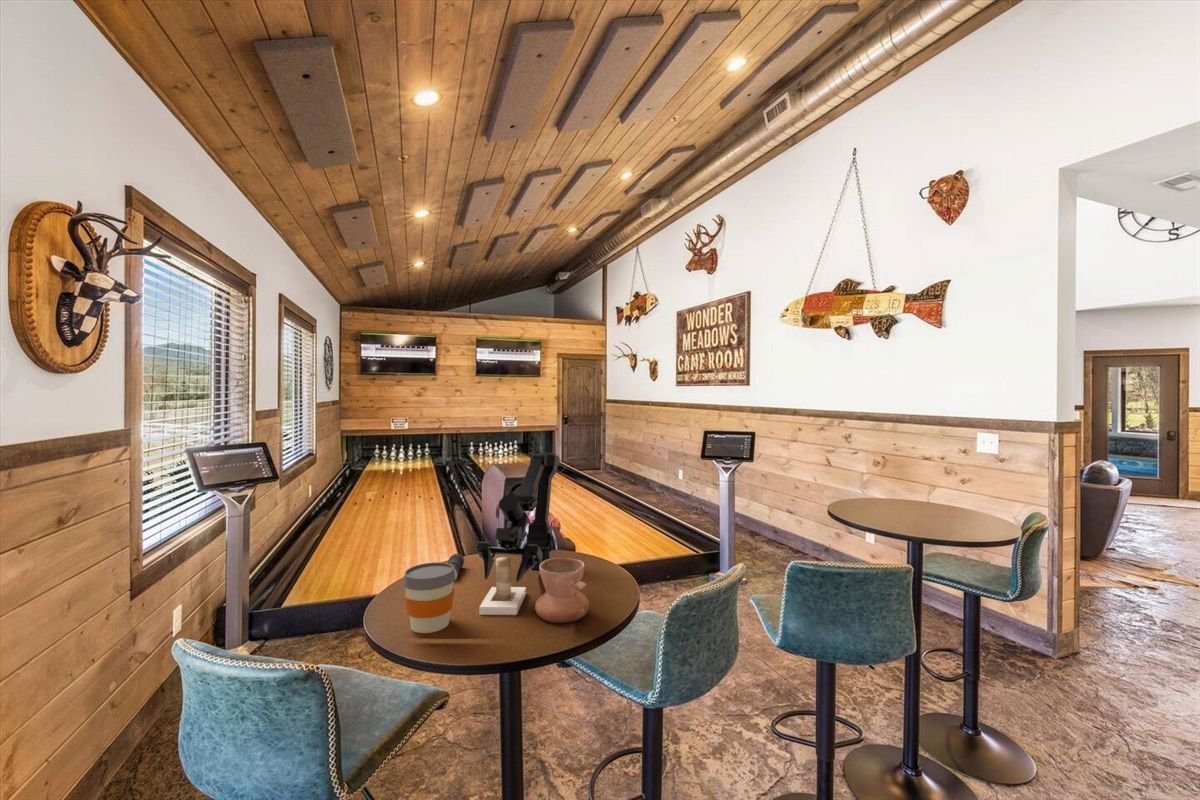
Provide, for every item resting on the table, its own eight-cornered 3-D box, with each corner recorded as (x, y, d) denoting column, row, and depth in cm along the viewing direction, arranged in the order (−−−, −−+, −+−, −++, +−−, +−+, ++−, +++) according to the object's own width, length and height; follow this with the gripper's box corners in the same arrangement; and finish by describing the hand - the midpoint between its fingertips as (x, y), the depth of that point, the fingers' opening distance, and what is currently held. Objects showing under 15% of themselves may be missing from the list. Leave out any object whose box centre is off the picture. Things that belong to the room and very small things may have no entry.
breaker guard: (491, 597, 151) (491, 586, 151) (525, 597, 151) (525, 587, 151) (479, 618, 137) (479, 607, 137) (516, 618, 137) (516, 607, 137)
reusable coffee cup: (437, 613, 140) (437, 558, 140) (465, 626, 132) (465, 568, 132) (394, 630, 131) (393, 571, 130) (421, 645, 123) (420, 583, 122)
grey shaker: (449, 567, 177) (448, 552, 177) (465, 567, 178) (465, 551, 177) (439, 584, 162) (439, 567, 162) (457, 583, 162) (456, 566, 162)
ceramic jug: (603, 617, 137) (603, 565, 137) (562, 636, 127) (561, 579, 126) (560, 598, 150) (559, 550, 149) (519, 614, 140) (518, 562, 139)
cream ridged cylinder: (494, 600, 145) (494, 558, 145) (508, 598, 147) (508, 556, 146) (498, 605, 141) (497, 562, 141) (512, 603, 143) (512, 560, 143)
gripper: (477, 513, 149) (460, 564, 139) (539, 516, 145) (525, 568, 135) (489, 533, 157) (473, 582, 147) (547, 536, 153) (536, 587, 143)
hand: (501, 580), depth 142 cm, fingers open, 9 cm apart
